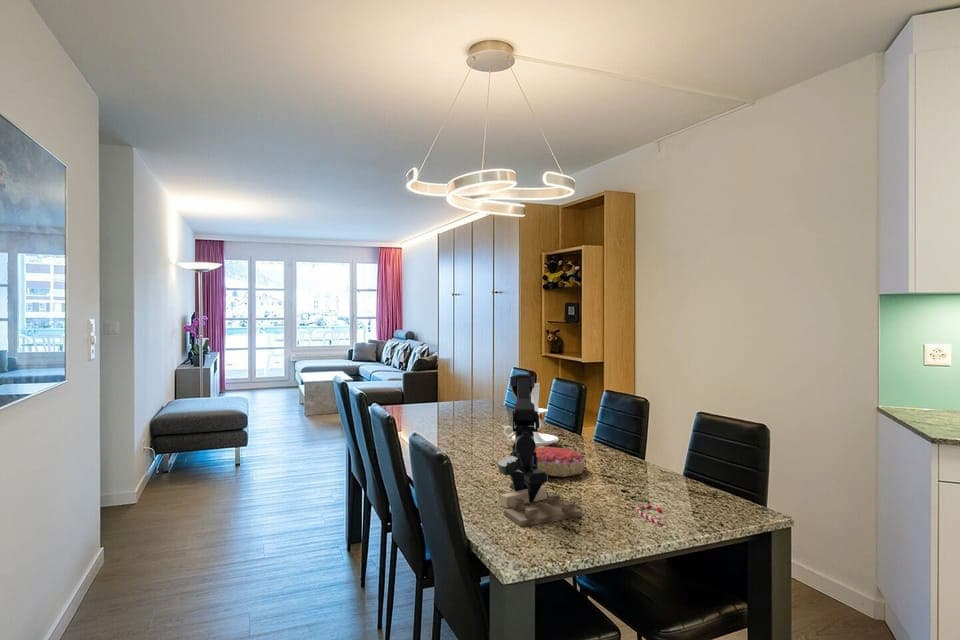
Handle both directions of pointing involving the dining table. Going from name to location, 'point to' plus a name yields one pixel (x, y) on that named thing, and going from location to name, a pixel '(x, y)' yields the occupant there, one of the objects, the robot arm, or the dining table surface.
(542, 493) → the clay strip
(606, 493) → the dining table surface
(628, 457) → the dining table surface
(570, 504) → the tabbed beige plate
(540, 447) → the cake
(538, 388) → the candlestick
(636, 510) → the candy cane
